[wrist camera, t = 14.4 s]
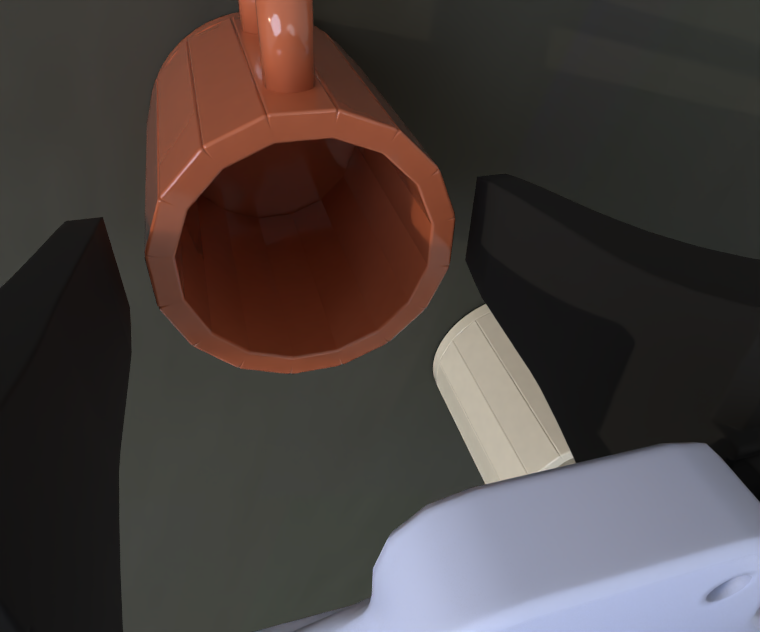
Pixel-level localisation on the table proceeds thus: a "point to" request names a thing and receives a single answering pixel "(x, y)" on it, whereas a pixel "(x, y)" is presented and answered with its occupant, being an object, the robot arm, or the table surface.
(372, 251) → the terracotta cup
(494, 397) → the cream cup
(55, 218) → the table surface
